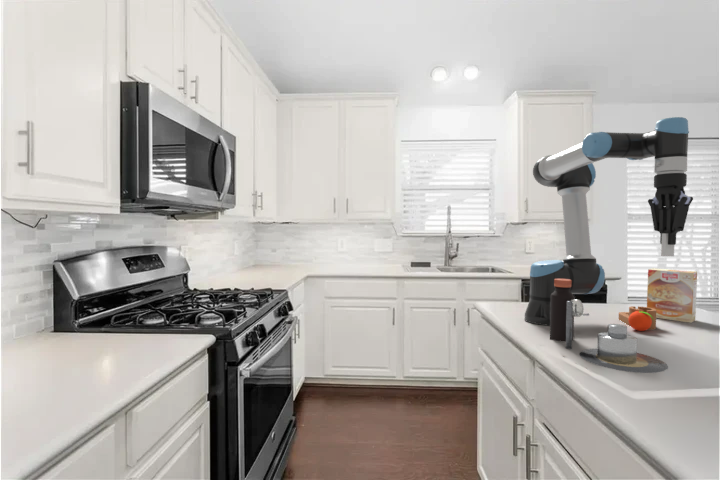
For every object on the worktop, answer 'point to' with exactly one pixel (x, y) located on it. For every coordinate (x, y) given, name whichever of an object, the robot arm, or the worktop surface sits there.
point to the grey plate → (642, 365)
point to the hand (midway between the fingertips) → (667, 256)
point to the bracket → (625, 315)
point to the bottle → (560, 309)
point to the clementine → (640, 320)
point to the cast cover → (617, 345)
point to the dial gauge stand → (574, 310)
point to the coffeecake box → (672, 294)
